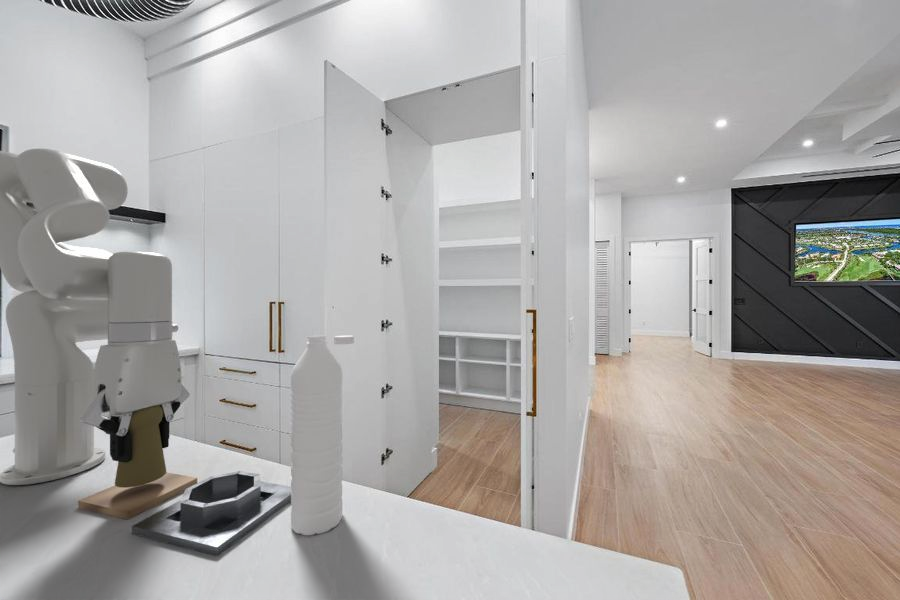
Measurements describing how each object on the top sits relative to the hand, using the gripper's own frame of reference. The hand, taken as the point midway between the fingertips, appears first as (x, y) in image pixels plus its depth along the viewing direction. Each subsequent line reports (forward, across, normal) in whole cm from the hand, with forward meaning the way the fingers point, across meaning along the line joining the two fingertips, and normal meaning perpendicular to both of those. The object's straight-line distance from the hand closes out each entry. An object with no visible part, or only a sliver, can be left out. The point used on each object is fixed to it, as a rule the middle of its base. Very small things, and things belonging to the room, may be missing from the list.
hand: (141, 452), depth 56 cm
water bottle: (+7, -2, +31) cm, 32 cm away
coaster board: (+7, 0, 0) cm, 7 cm away
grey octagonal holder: (+7, 0, +16) cm, 17 cm away
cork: (+4, 0, 0) cm, 4 cm away
